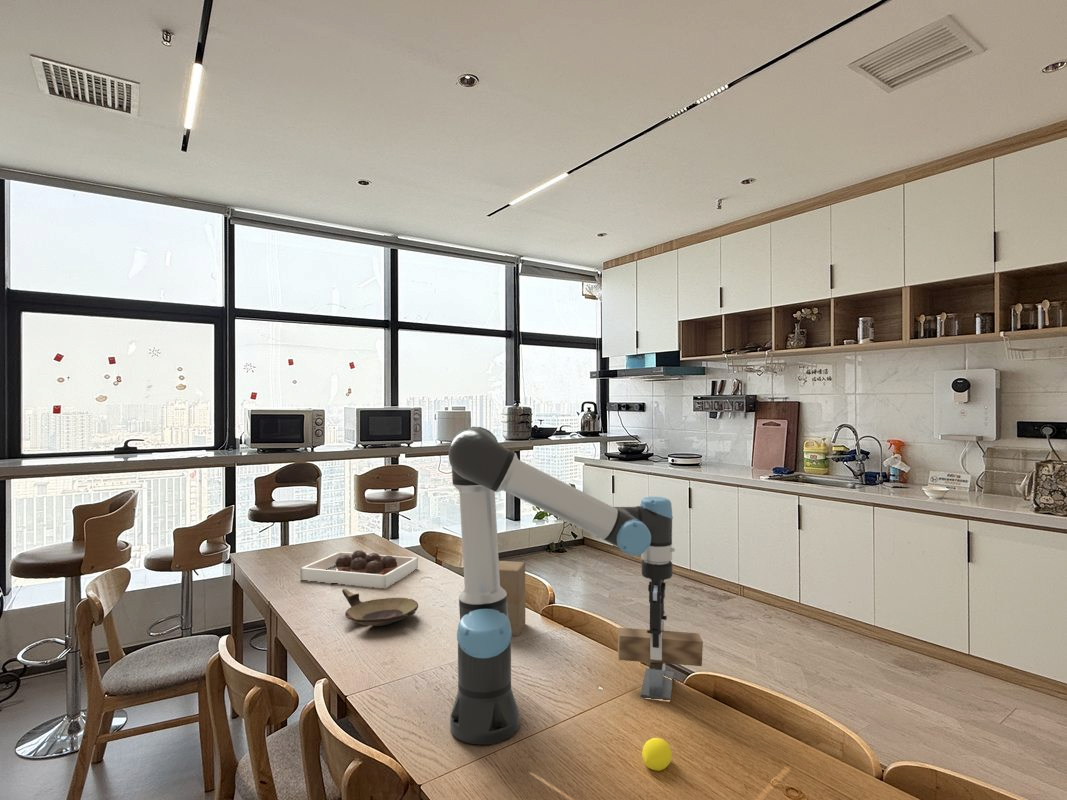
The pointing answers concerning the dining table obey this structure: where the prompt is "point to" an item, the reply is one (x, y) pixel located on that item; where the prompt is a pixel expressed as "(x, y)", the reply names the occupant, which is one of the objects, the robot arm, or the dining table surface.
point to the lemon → (656, 754)
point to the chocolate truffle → (366, 563)
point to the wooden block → (514, 592)
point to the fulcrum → (657, 682)
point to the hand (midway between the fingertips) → (657, 652)
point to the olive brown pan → (378, 609)
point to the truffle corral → (320, 573)
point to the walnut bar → (674, 647)
